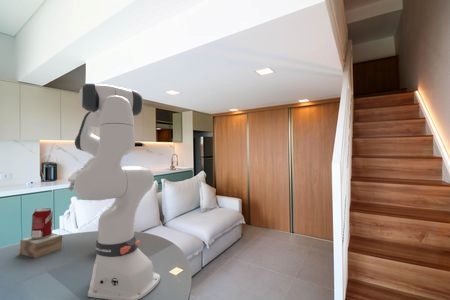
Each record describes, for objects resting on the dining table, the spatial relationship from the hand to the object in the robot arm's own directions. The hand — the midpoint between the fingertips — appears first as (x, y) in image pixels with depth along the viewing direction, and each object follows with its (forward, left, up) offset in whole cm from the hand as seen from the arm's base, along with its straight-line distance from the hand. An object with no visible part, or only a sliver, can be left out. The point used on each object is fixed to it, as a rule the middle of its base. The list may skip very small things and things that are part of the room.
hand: (75, 190), depth 103 cm
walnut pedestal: (+2, +12, -24) cm, 27 cm away
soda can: (+2, +12, -19) cm, 22 cm away
